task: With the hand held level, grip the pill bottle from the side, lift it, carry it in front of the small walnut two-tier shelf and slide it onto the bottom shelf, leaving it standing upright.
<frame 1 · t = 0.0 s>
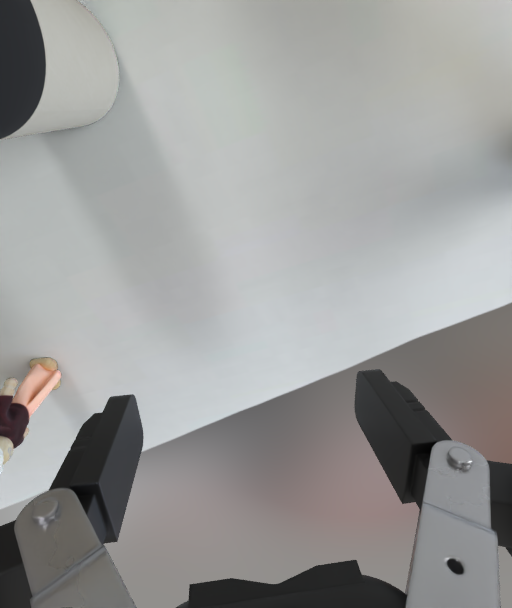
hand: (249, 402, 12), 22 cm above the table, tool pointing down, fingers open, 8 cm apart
grandmother figurine: (46, 368, 38), on the table
travel mug: (63, 64, 25), on the table
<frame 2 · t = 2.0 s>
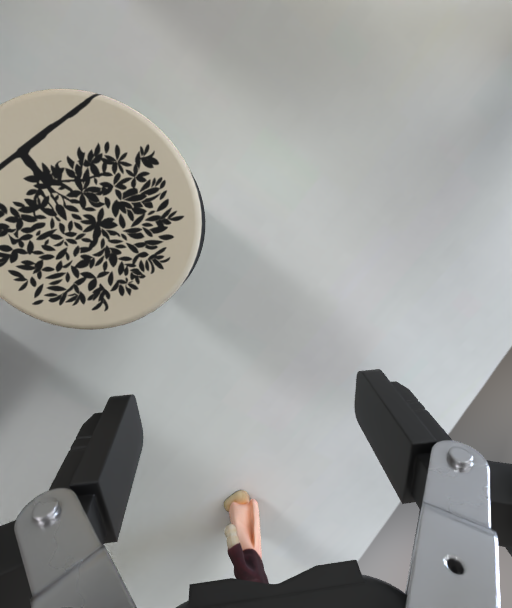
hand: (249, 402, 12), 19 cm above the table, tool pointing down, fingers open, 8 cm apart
grandmother figurine: (239, 503, 36), on the table
travel mug: (149, 225, 28), on the table
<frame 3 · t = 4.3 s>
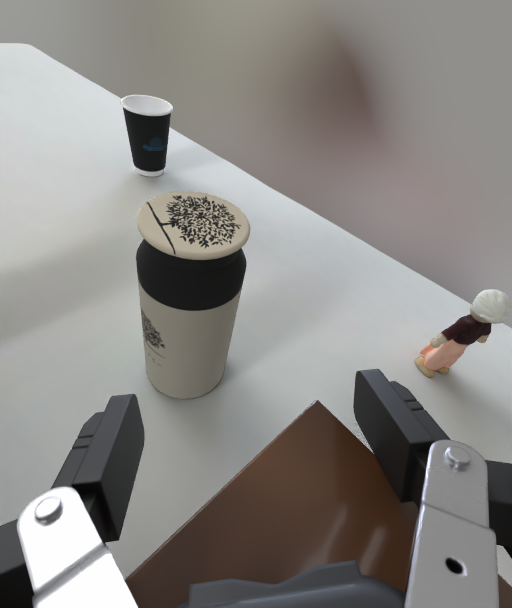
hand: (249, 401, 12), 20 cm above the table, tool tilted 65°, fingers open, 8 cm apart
grandmother figurine: (427, 367, 42), on the table
dixie cup: (149, 171, 62), on the table
travel mug: (186, 366, 36), on the table
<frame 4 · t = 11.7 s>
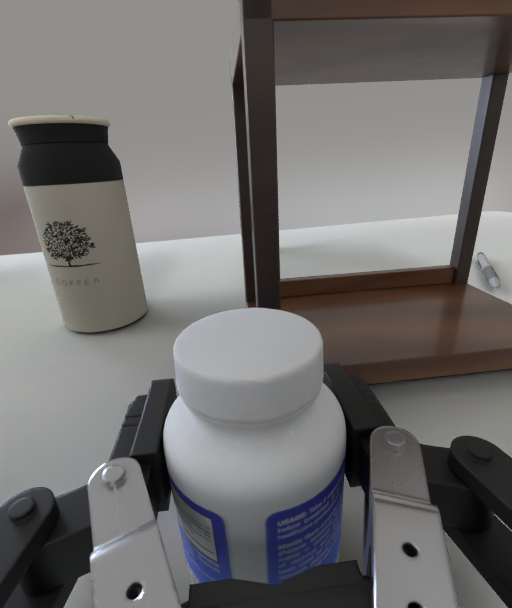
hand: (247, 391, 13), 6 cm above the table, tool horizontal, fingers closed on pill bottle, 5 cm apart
pill bottle: (263, 566, 13), on the table, touching gripper
pen: (485, 277, 41), on the table
travel mug: (108, 319, 35), on the table
shelf: (381, 349, 27), on the table
when the fingers open (9 cm above the table, at t = 20.9 s): pill bottle stays where it is, resting on shelf.
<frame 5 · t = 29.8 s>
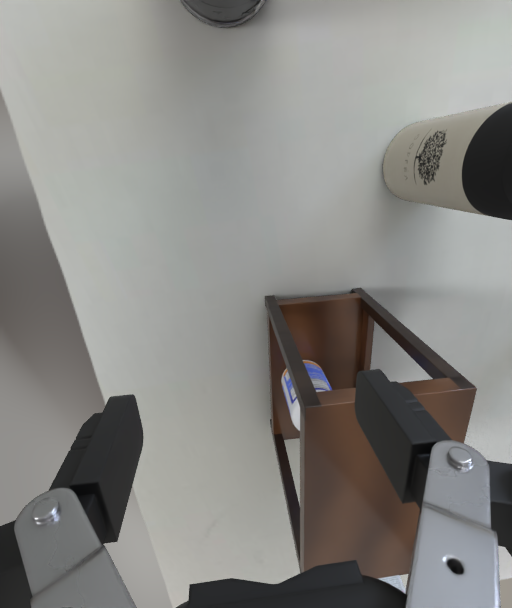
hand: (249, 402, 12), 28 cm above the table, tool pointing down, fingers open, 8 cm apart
pill bottle: (301, 376, 43), point 3 cm above the table, touching shelf
travel mug: (415, 162, 37), on the table
shelf: (312, 361, 45), on the table
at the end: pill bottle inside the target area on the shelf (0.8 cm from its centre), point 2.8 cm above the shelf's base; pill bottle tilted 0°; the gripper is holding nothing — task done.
